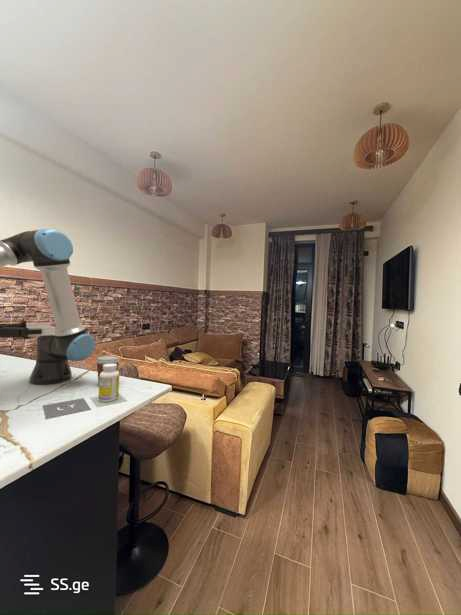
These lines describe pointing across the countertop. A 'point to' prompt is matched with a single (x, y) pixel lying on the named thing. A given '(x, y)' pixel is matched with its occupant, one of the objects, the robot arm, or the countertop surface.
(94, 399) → the mat
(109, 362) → the disposable coffee cup
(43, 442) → the countertop surface
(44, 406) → the mat
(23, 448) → the countertop surface
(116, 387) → the supplement bottle
